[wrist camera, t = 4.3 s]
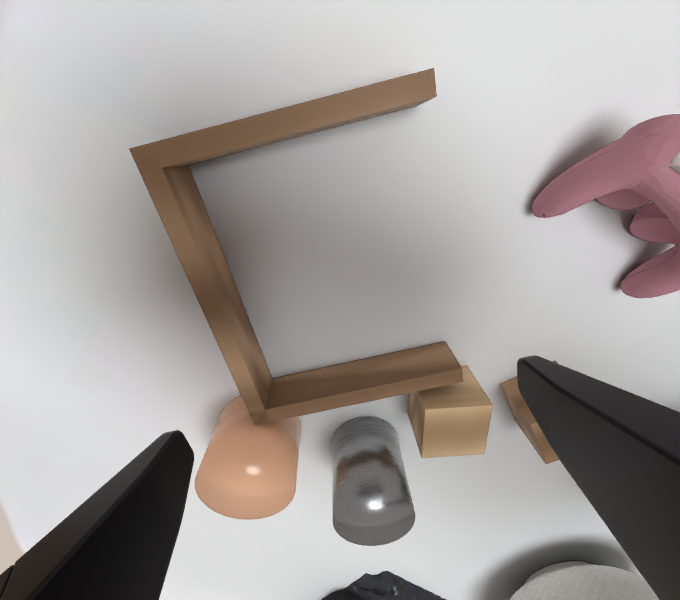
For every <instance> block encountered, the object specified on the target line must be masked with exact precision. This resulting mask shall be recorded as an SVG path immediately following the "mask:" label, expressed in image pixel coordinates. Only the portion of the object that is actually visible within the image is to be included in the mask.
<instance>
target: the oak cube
mask: <svg viewBox="0 0 680 600" xmlns="http://www.w3.org/2000/svg"><path fill="white" fill-rule="evenodd" d="M461 367H462V373H463V382H460V383H455V384H450V385H445V386H440V387H436V388H431V389H426V390H421V391H416V392H412V393H409V400H408V416H409V419H410V422H411V425H412V428H413V432H414V435H415V438H416V441H417V445H418V448H419V451H420V454H421V458H430V457H445V456H460V455H475V454H484V451H485V446H486V441H487V435H488V430H489V424H490V419H491V414H492V408H493V404H492V403H491V401H490V400H489V398H488V397H487V395H486V394H485V392H484V391H483V389H482V388H481V386H480V384H479V383H478V381H477V380H476V378H475V377H474V375H473V374H472V372H471V371H470V369H469V368H468V366H461Z"/></svg>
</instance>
